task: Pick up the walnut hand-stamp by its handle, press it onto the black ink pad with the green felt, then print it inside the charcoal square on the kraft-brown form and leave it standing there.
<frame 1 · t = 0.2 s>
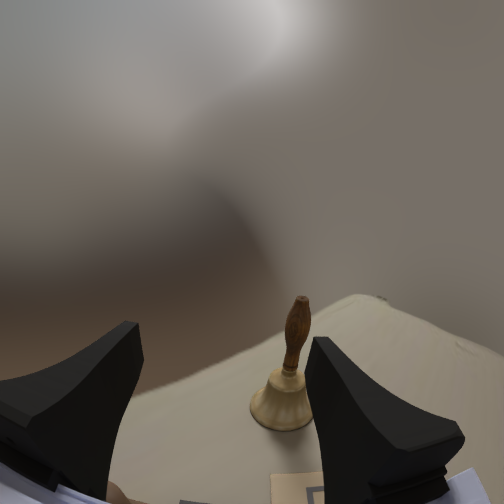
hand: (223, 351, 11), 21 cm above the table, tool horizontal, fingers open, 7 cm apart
hand bell: (282, 408, 33), on the table
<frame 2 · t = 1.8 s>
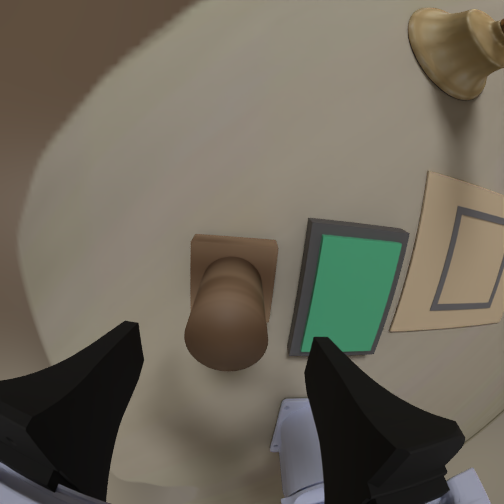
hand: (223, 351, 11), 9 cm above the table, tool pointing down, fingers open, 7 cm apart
form: (476, 262, 19), on the table
stamp: (233, 270, 19), on the table
ink pad: (344, 291, 20), on the table
hand bell: (448, 52, 14), on the table
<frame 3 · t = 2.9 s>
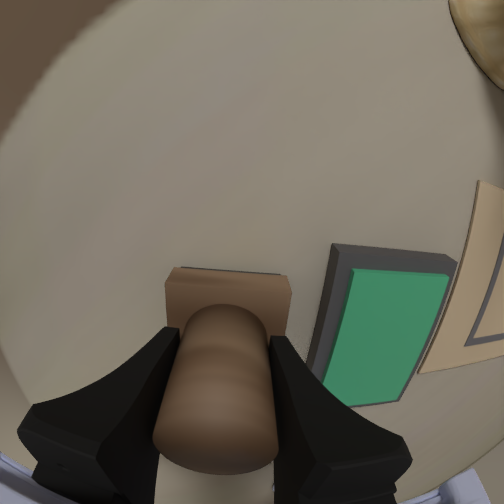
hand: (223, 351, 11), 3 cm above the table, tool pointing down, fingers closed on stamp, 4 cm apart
stamp: (227, 313, 14), on the table, touching gripper
ink pad: (372, 333, 15), on the table
hand bell: (492, 36, 9), on the table
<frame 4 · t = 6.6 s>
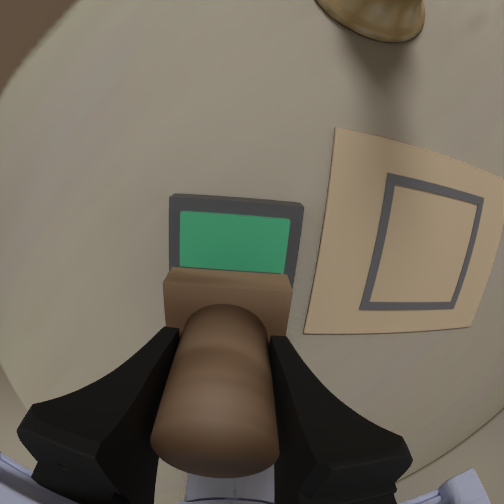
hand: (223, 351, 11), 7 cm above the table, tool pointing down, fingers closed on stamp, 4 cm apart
form: (428, 249, 17), on the table
stamp: (227, 313, 14), point 4 cm above the table, touching gripper
ink pad: (231, 280, 17), on the table
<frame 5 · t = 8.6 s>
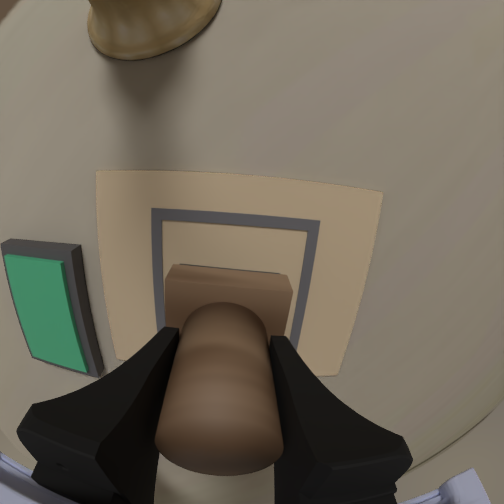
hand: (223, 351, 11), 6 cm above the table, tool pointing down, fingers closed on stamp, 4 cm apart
form: (230, 289, 17), on the table
stamp: (225, 311, 14), point 3 cm above the table, touching gripper
ink pad: (53, 306, 17), on the table
hand bell: (152, 3, 11), on the table
when the fingers open (4 cm above the table, at t = 10.4 s): stamp stays where it is, resting on form.
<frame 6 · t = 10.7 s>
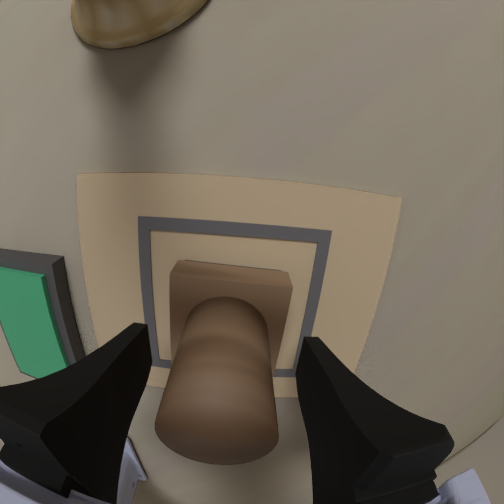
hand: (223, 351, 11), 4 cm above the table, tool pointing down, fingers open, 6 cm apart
form: (228, 307, 15), on the table
stamp: (228, 307, 14), resting on form
ink pad: (38, 320, 15), on the table
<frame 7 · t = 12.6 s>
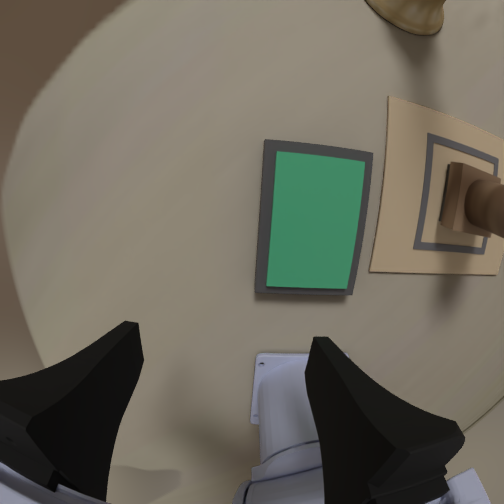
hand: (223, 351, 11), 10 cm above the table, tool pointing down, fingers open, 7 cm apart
form: (460, 198, 19), on the table
stamp: (462, 197, 18), resting on form
ink pad: (311, 219, 19), on the table
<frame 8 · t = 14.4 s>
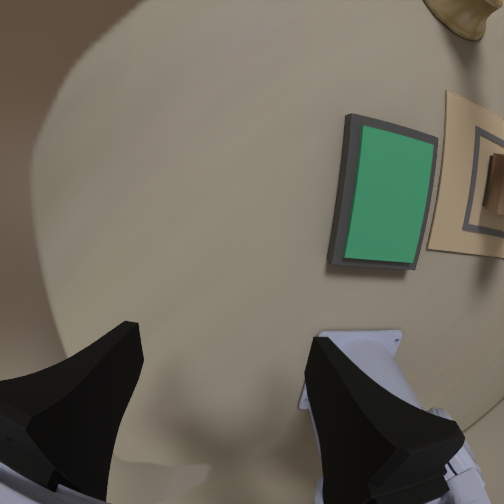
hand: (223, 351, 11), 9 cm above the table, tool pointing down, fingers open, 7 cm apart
form: (498, 187, 18), on the table
stamp: (500, 186, 18), resting on form
ink pad: (383, 194, 18), on the table
hand bell: (451, 3, 12), on the table
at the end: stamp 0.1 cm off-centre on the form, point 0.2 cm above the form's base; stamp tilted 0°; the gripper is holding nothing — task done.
